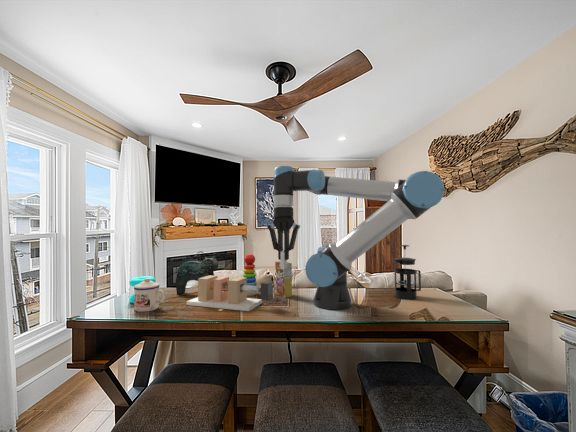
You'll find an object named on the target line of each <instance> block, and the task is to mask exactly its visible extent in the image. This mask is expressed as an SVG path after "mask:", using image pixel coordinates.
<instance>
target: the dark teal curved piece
mask: <svg viewBox="0 0 576 432" xmlns="http://www.w3.org/2000/svg"><path fill="white" fill-rule="evenodd" d="M200 253H202V254H203V255H205V253H204V252H203V251H198V252H197V255H199V254H200ZM187 260H190V261H187ZM185 261H186V262H185ZM218 268H219V261H218V259H217V257H216V255H215V254H214V255H213V256H212V257H207V256H204V257H203V258H202V259H201V260H198V259H194V258H191V257H189V258H185V259H183V260H182V261H181V262H180V264H179V267H178V269H177V272H176V278H175V290H176V295H184V294H185V293H186V288H187V285H188V282H190V281H197V282H198V278H202V277H205V276H209V275H212V276H215V273H214V271H216V270H217V269H218Z"/></svg>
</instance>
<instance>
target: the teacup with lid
mask: <svg viewBox="0 0 576 432" xmlns="http://www.w3.org/2000/svg"><path fill="white" fill-rule="evenodd" d="M160 286H161V285H160V283H158V282H156V281H155V282H153V281H150V279H149V278H145V279H144V281H143V282H141V283H140V284H137V285H135V286H134V287H133V291H134V293H133V294H134V303H133V305H134V306H133V307H134V308H133V309H134V311H135V312H138V313H139V312H140V313H141V312H143V313H144V312H150V311H155V310H157V309H159V307H160V303H163V302H164V300H165V298H166V292H164V290H162V289H160ZM160 294H161V295H162V296H161V298H160Z"/></svg>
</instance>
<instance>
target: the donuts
mask: <svg viewBox="0 0 576 432" xmlns="http://www.w3.org/2000/svg"><path fill="white" fill-rule="evenodd" d="M145 278H149V279H150V281H153V282H155V283H156V278H155V277H154V276H149V275H146V276H145V275H143V276H136V277H132V278H131V279H130V280H129V282H128V283H129V285H130V286H131V287H133V288H134V286H135V285H137V284H140V283H141V282H143V281H144V279H145ZM128 299H129V302H130V303H131V304H134V293H132V294H131V295H130V296H129V298H128Z"/></svg>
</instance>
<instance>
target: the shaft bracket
mask: <svg viewBox="0 0 576 432" xmlns="http://www.w3.org/2000/svg"><path fill="white" fill-rule="evenodd" d="M222 284H228V290H222ZM240 285H247V278H245V277H243V276H238V277H237V276H236V277H235V278H231V279H230V276H219V277H218V275H214V276H212V275H209V276H205V277H202V278H198V281H197V294H198V295H197V297H193V298H190V299H189V300H187V301H186V305H187V306H196V307H204V308H212V309H213V308H215V309H222V310H224V309H225V310H234V311H243V312H250V311H252V310H253V309H255V308H257V307H258V306H260V305H261V304H263V299H261V298H260V299H259V298H249V297H248V296H247V292H246V291H240Z"/></svg>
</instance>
